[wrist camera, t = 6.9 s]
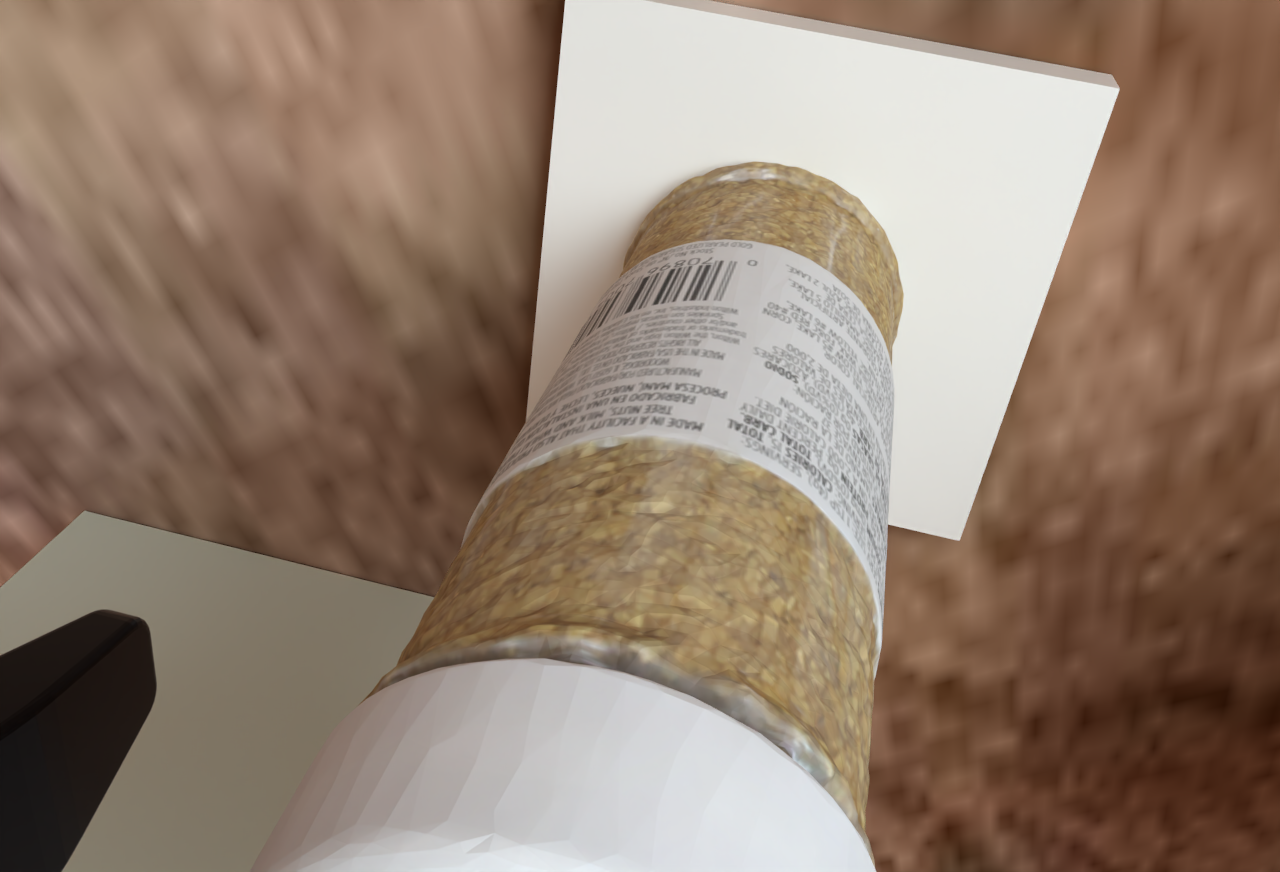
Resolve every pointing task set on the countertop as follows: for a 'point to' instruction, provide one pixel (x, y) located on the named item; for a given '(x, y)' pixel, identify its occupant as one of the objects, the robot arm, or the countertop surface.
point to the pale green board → (212, 681)
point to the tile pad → (856, 161)
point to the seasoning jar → (656, 578)
